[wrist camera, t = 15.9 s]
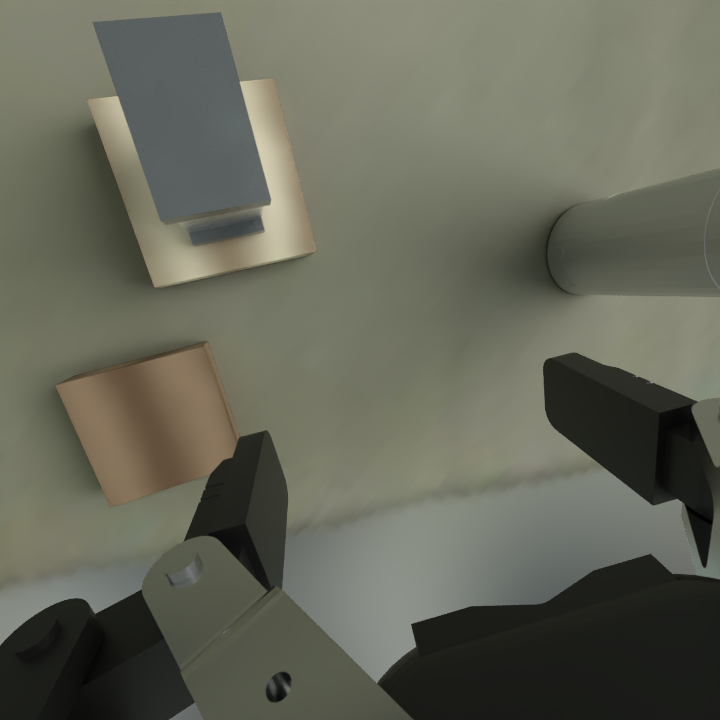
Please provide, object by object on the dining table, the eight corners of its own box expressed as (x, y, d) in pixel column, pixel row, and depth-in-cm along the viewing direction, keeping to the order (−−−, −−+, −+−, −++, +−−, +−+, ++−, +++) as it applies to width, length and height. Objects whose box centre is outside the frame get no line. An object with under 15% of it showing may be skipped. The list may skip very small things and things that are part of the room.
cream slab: (271, 98, 29) (273, 78, 26) (311, 254, 32) (316, 251, 29) (104, 119, 27) (86, 99, 24) (163, 287, 30) (154, 287, 27)
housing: (233, 120, 26) (220, 12, 16) (264, 232, 28) (271, 199, 18) (157, 130, 25) (92, 22, 15) (195, 246, 27) (160, 220, 17)
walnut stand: (207, 341, 31) (203, 346, 28) (243, 448, 34) (242, 463, 31) (74, 375, 29) (55, 385, 26) (123, 487, 31) (110, 507, 29)
